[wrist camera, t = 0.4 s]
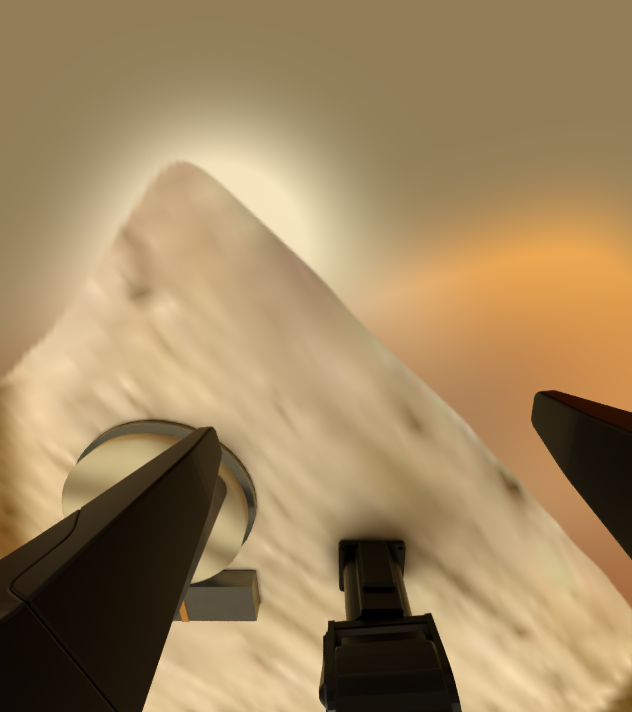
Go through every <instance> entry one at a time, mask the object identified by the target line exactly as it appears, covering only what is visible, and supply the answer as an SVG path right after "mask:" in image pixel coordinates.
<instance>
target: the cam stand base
mask: <svg viewBox="0 0 632 712" xmlns="http://www.w3.org/2000/svg"><path fill="white" fill-rule="evenodd" d="M195 430H196V429H194V428H191V427H189V426H185V425H182V424H178V423H174V422H167V421H155V420H147V421H137V422H132V423H127V424H124V425H121V426H118V427H115V428H113V429H111V430H109V431H108V432H106V433H104V434H103V435H102V436H100V437H99V438H98V439H96V440H95V441H94V442H93V443H91V444H90V445H89V446H88V447H87V449H86V450H85V451H84V452H83V453H82V455H81V456H80V458H79V459H78V462H79V461H81V460H82V459H83V458H84V457H85V456H86V455H88V454H89V453H90V452H91V451H92V450H94V449H95V448H96V447H98V446H99V445H100V444H102V443H104V442H106V441H108V440H110V439H112V438H115V437H118V436H121V435H126V434H131V433H141V432H150V433H161V434H168V435H172V436H176V437H180V438H185V437H186V436H188V435H189V434H190V433H192V432H193V431H195ZM219 443H220V442H219ZM220 446H221V449H222V458H221V461H222V462H223V463H224V464H225V465H226V466H227V467H228V468H229V469H230V470H231V471H232V472H233V474H234V475H235V476H236V478H237V479H238V481H239V483H240V485H241V486H242V488H243V491H244V493H245V496H246V499H247V504H248V515H249V516H248V524H247V528H246V531H245V535H244V538H243V542H242V545H243V544H244V542H245V541H246V540H247V538H248V536H249V534H250V532H251V529H252V526H253V522H254V519H255V514H256V495H255V490H254V486H253V484H252V481H251V478H250V477H249V475H248V473H247V471H246V469H245V468H244V466H243V465H242V464H241V462H240V461H239V460H238V458H237V457H236V456H235V455H234V454H233V453H232V452H231V451H230V450H229V449H227V448H226V447H225V446H224V445H223V444H221V443H220ZM78 462H77V464H78ZM77 464H76V465H77ZM242 545H241V546H242ZM259 605H260V601H259V594H258V586H257V579H256V571H255V570H227V571H221V572H219V573H218V574H216V575H214V576H212V577H210V578H208V579H205V580H203V581H200V582H196V583H192V584H190V586H189V588H188V591H187V593H186V596H185V598H184V601H183V603H182V606H181V608H180V611H179V613H178V615H177V617H176V619H175V620H174V621H182V622H189V621H257V616H258V611H259Z"/></svg>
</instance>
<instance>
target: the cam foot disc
mask: <svg viewBox="0 0 632 712" xmlns="http://www.w3.org/2000/svg"><path fill="white" fill-rule="evenodd" d="M182 439H183V438H180V437H176V436H172V435H168V434H161V433H150V432H141V433H131V434H126V435H121V436H118V437H115V438H112V439H110V440H108V441H106V442H104V443H102V444H100V445H99V446H98V447H96V448H95V449H94V450H92V451H91V452H90V453H89V454H88V455H86V456H85V457H84V458H83V459H82V460H81V461H79V462H78V464H77V465H76V466H75V467H74V468H73V469H72V470H71V472H70V473H69V475H68V477H67V479H66V481H65V484H64V487H63V492H62V509H63V514H64V518H66V517H67V516H69V515H70V514H72V513H73V512H75V511H76V510H78V509H81V507H82V506H84V505H85V504H87V503H88V502H90V501H91V500H93V499H94V498H96V497H97V496H99V495H100V494H102V493H103V492H104V491H106V490H107V489H109V488H110V487H112V486H113V485H115V484H116V483H118V482H119V481H121V480H122V479H124V478H125V477H127V476H128V475H130V474H131V473H133V472H134V471H136V470H137V469H139V468H140V467H142V466H143V465H145V464H146V463H147V462H149V461H150V460H152V459H153V458H155V457H156V456H158V455H159V454H161V453H162V452H164V451H165V450H167V449H168V448H170V447H171V446H173V445H174V444H176V443H177V442H179V441H180V440H182ZM248 516H249V515H248V504H247V499H246V496H245V493H244V491H243V488H242V486H241V485H240V483H239V481H238V479H237V478H236V476H235V475H234V474H233V472H232V471H231V470H230V469H229V468H228V467H227V466H226V465H225V464H224V463H223V462H222V461H221V463H220V467H219V472H218V477H217V481H216V486H215V490H214V495H213V499H212V503H211V507H210V510H209V513H208V516H207V519H206V522H205V525H204V528H203V531H202V534H201V537H200V540H199V543H198V546H197V549H196V552H195V555H194V558H193V561H192V564H191V567H190V570H189V573H188V576H187V579H186V582H185V585H184V588H183V591H182V594H181V597H180V600H179V603H178V606H177V609H176V612H175V615H174V618H173V621H174V620H175V619H176V617H177V615H178V613H179V611H180V608H181V606H182V603H183V601H184V598H185V596H186V593H187V591H188V588H189V586H190V584H192V583H196V582H200V581H203V580H205V579H208V578H210V577H212V576H214V575H216V574H218V573H219V572H221V571H222V570H223V569H225V568H226V567H227V566H228V565H229V564H230V563H231V562H232V561H233V559H234V558H235V557H236V555H237V554H238V552H239V550H240V548H241V545H242V542H243V538H244V535H245V531H246V528H247V524H248ZM173 621H172V622H173Z"/></svg>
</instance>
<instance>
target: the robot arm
mask: <svg viewBox="0 0 632 712" xmlns="http://www.w3.org/2000/svg"><path fill="white" fill-rule="evenodd" d="M531 421H532V424H533V427H534V428H535V430H536V431H537V433H538V435H539V436H540V438H541V439H542V441H543V442H544V444H545V445H546V447H547V449H548V450H549V452H550V453H551V455H552V456H553V458H554V459H555V461H556V463H557V464H558V466H559V467H560V468H561V470H562V472H563V473H564V474H565V476H566V477H567V479H568V480H569V481H570V483H571V484H572V485H573V486H574V488H575V489H576V490H577V491H578V493H579V494H580V495H581V496H582V498H583V499H584V500H585V502H586V503H587V504H588V505H589V507H590V508H591V509H592V510H593V512H594V513H595V514H596V515H597V517H598V518H599V519H600V520H601V522H602V523H603V524H604V525H605V527H606V528H607V529H608V530H609V532H610V533H611V534H612V536H613V537H614V538H615V539H616V540H617V542H618V543H619V544H620V546H621V547H622V548H623V549H624V551H625V552H626V553H627V555H628V556H629V557H630V558H631V559H632V412H628V411H625V410H621V409H618V408H614V407H611V406H608V405H604V404H601V403H597V402H594V401H590V400H587V399H583V398H579V397H576V396H573V395H569V394H566V393H562V392H559V391H555V390H549V391H540V392H537V393H536V394H535V397H534V403H533V409H532V416H531ZM221 458H222V449H221V446H220V443H219V439H218V436H217V433H216V431H215V429H214V428H213V427H201V428H198V429H196V430H195V431H193V432H192V433H190V434H189V435H188V436H186V437H185V438H183V439H182V440H180V441H179V442H177V443H176V444H174V445H173V446H171V447H170V448H168V449H167V450H165V451H164V452H162V453H161V454H159V455H158V456H156V457H155V458H153V459H152V460H150V461H149V462H147V463H146V464H145V465H143V466H142V467H140V468H139V469H137V470H136V471H134V472H133V473H131V474H130V475H128V476H127V477H125V478H124V479H122V480H121V481H119V482H118V483H116V484H115V485H113V486H112V487H110V488H109V489H107V490H106V491H104V492H103V493H102V494H100V495H99V496H97V497H96V498H94V499H93V500H91V501H90V502H88V503H87V504H85V505H84V506H82V507H81V509H78V510H76V511H75V512H73V513H72V514H70V515H69V516H67V517H66V518H64V519H63V520H61V521H60V522H58V523H57V524H55V525H54V526H52V527H51V528H49V529H48V530H46V531H45V532H43V533H42V534H40V535H39V536H37V537H36V538H34V539H32V540H31V541H29V542H28V543H26V544H24V545H23V546H21V547H20V548H18V549H16V550H15V551H13V552H12V553H10V554H8V555H7V556H5V557H4V558H2V559H0V712H142V710H143V707H144V704H145V701H146V698H147V695H148V692H149V689H150V686H151V683H152V680H153V677H154V675H155V672H156V669H157V666H158V663H159V660H160V657H161V654H162V651H163V648H164V645H165V642H166V639H167V636H168V633H169V630H170V627H171V624H172V621H173V618H174V615H175V612H176V609H177V606H178V603H179V600H180V597H181V594H182V591H183V588H184V585H185V582H186V579H187V576H188V573H189V570H190V567H191V564H192V561H193V558H194V555H195V552H196V549H197V546H198V543H199V540H200V537H201V534H202V531H203V528H204V525H205V522H206V519H207V516H208V513H209V510H210V507H211V503H212V499H213V495H214V490H215V486H216V481H217V477H218V472H219V467H220V463H221ZM343 546H344V547H343ZM405 549H406V548H405V544H404V542H403V541H341V542H340V543H339V588H340V590H341V591H343V592H345V609H346V621H338V622H335V620H333V621H328V632H326V634H325V635H324V636H323V665H322V672H321V679H320V686H319V699H320V701H321V703H322V704H323V706H324V707H325V708H326V712H462V710H461V705H460V700H459V696H458V692H457V688H456V684H455V680H454V676H453V673H452V670H451V666H450V663H449V660H448V658H447V655H446V652H445V650H444V647H443V644H442V641H441V639H440V636H439V633H438V631H437V628H436V625H435V622H434V620H433V617H432V614H431V613H426V614H424V615H418V616H412V613H411V609H410V605H409V601H408V597H407V592H406V588H405V584H404V580H403V576H404V563H405Z"/></svg>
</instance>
